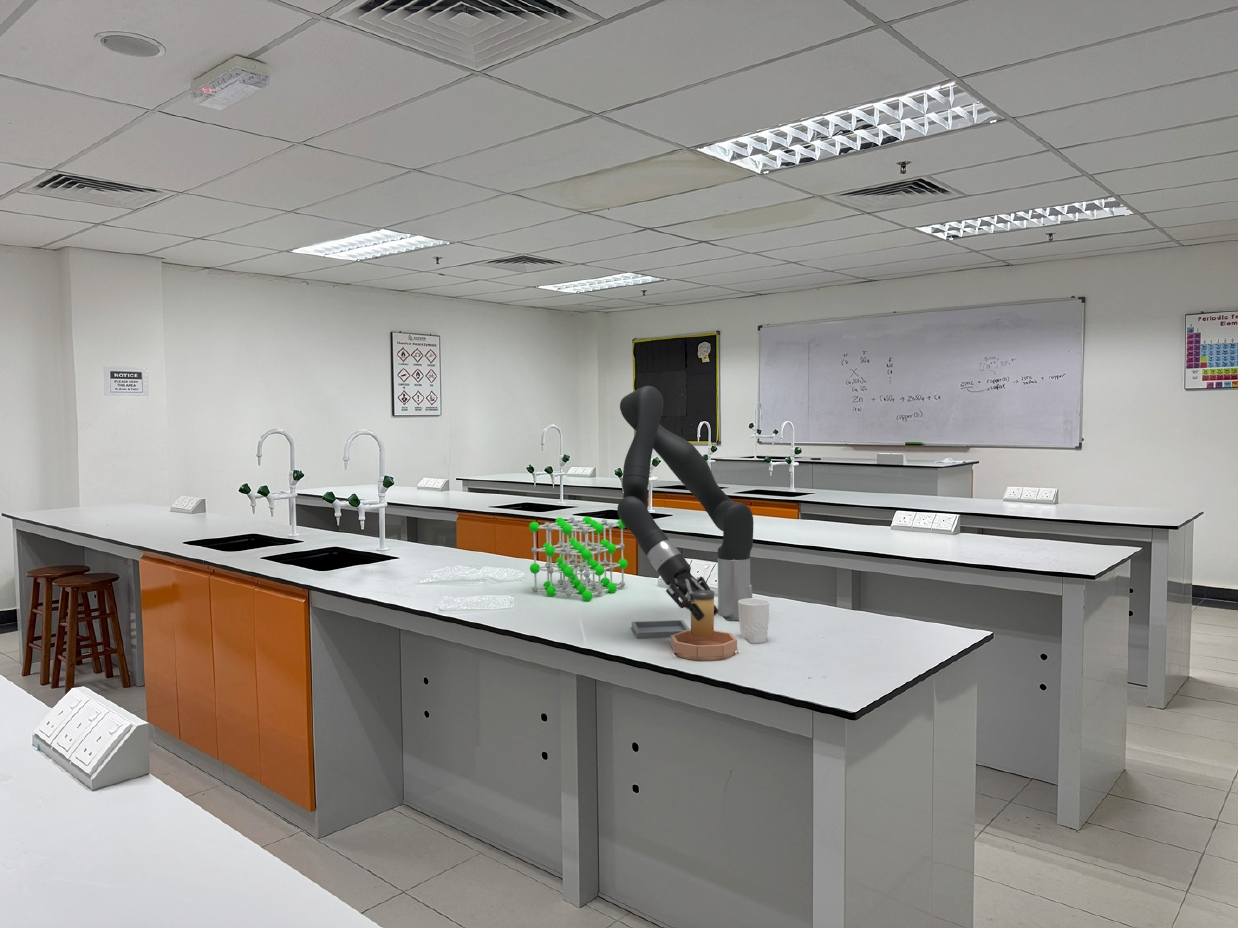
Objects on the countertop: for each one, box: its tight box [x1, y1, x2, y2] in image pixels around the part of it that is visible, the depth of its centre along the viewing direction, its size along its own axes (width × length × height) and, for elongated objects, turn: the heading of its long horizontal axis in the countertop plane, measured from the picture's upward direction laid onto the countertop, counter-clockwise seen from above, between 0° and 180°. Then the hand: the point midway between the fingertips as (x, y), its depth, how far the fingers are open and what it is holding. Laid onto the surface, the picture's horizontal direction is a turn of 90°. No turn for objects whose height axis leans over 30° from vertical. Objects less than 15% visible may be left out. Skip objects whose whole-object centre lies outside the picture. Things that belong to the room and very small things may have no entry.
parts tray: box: [631, 619, 691, 640], centre depth 217 cm, size 14×12×2 cm
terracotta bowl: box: [670, 629, 738, 662], centre depth 200 cm, size 15×15×4 cm
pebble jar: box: [690, 589, 715, 637], centre depth 200 cm, size 6×6×10 cm
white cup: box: [738, 597, 770, 644], centre depth 211 cm, size 8×8×10 cm
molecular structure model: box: [528, 516, 629, 602], centre depth 275 cm, size 24×25×24 cm
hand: (708, 616), depth 199 cm, fingers closed on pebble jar, 5 cm apart
